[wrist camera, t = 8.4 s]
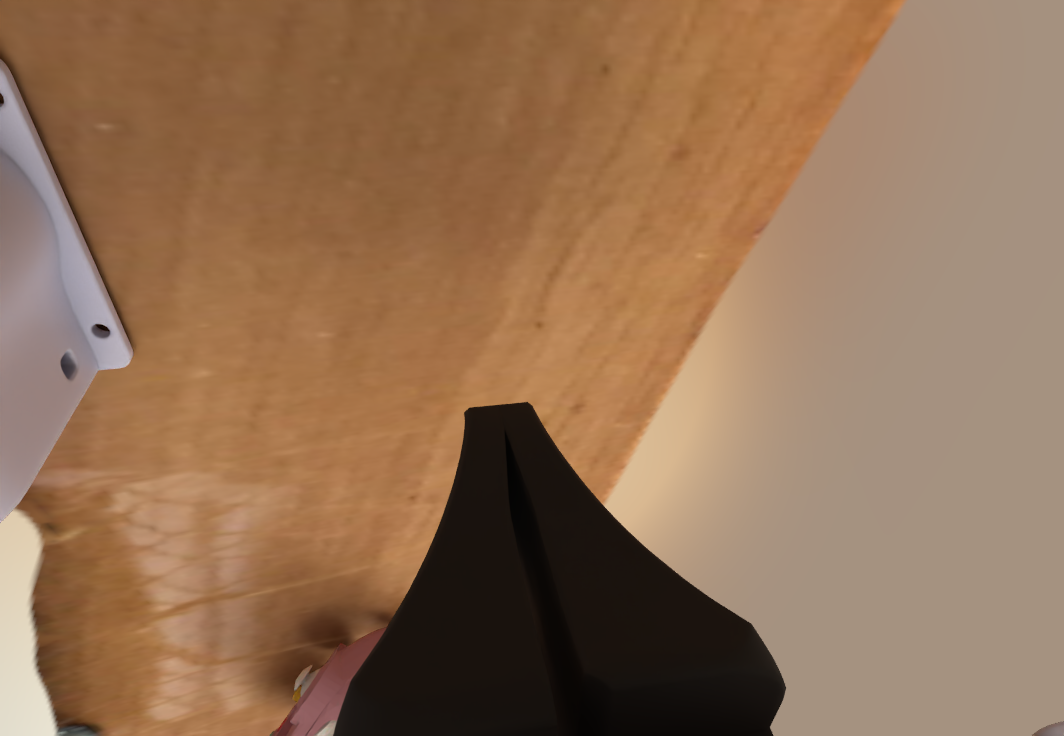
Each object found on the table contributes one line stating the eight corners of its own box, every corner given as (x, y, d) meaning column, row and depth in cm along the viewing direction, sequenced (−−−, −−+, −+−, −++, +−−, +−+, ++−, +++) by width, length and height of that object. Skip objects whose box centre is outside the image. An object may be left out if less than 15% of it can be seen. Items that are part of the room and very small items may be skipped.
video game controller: (362, 583, 34) (284, 697, 27) (436, 634, 34) (375, 759, 27) (292, 682, 38) (210, 800, 32) (357, 727, 38) (289, 853, 32)
